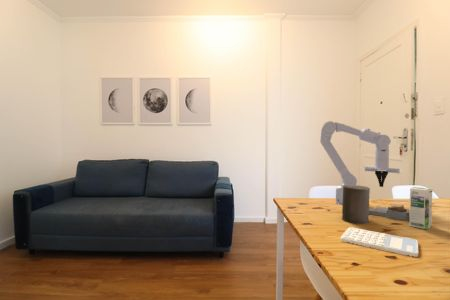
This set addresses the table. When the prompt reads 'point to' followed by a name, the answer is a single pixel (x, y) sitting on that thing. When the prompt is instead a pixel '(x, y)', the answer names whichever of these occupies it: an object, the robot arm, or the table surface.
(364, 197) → the pillar candle
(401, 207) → the walnut block
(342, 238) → the calculator
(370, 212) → the rail
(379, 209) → the rubber pad
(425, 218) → the syrup box
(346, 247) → the table surface
